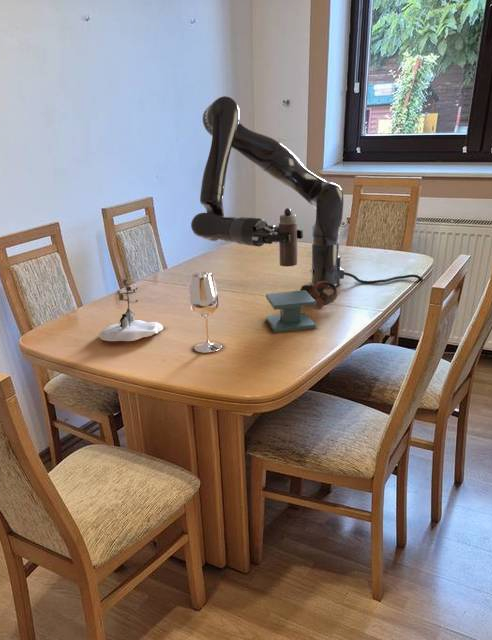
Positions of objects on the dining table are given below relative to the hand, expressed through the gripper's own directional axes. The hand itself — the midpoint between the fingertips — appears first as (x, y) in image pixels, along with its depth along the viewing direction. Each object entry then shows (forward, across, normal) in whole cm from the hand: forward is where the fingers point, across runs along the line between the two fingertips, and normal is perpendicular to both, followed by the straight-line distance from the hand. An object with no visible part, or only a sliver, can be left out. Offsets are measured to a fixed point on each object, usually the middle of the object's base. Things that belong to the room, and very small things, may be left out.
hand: (295, 236), depth 158 cm
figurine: (-36, -33, +25) cm, 55 cm away
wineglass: (-10, -28, +25) cm, 39 cm away
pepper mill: (-3, 0, +8) cm, 8 cm away
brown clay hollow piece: (-6, +20, +26) cm, 33 cm away
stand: (-2, 0, +25) cm, 25 cm away
